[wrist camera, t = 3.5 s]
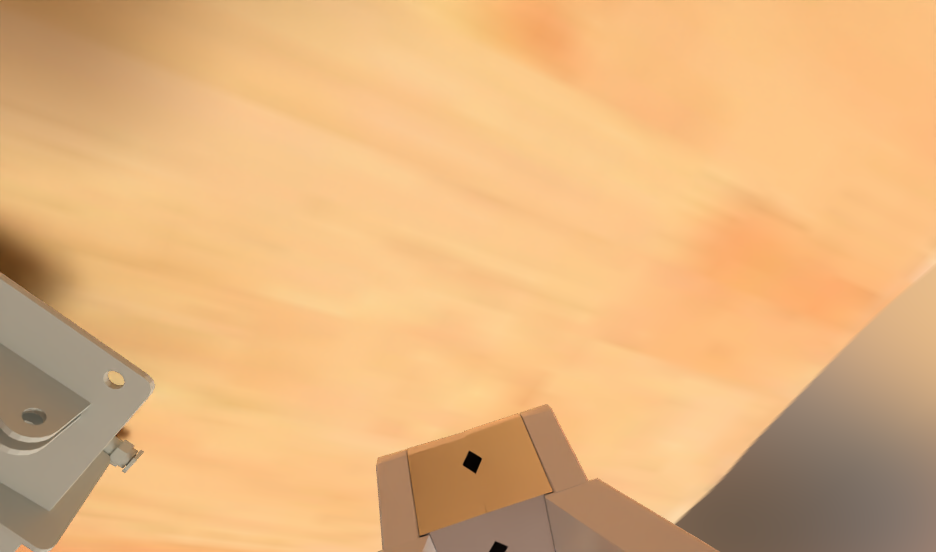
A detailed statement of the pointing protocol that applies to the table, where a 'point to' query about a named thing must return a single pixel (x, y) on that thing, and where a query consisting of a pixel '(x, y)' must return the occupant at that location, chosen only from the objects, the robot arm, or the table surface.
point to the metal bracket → (56, 418)
